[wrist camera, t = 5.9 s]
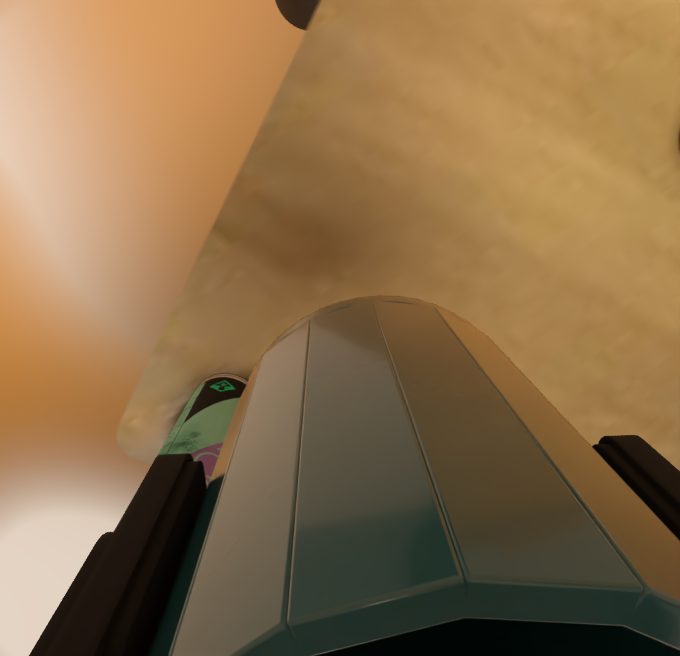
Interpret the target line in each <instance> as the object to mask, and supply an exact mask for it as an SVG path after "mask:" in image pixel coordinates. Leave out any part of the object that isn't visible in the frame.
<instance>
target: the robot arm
mask: <svg viewBox="0 0 680 656" xmlns="http://www.w3.org/2000/svg"><path fill="white" fill-rule="evenodd" d="M592 447H593V449H594V450H595V451H596V452H597V453H598V454H599V455H600V456H601V457H602V458H603V459H604V460H605V461H606V462H607V463H608V465H609V466H610V467H611V468H612V469H613V470H614V471H615V472H616V473H617V474H618V475H619V476H620V477H621V478H622V479H623V481H624V482H625V483H626V484H627V485H628V486H629V487H630V488H631V489H632V490H633V491H634V492H635V493H636V494H637V495H638V496H639V498H640V499H641V500H642V501H643V502H644V503H645V504H646V505H647V506H648V507H649V508H650V509H651V510H652V511H653V512H654V514H655V515H656V516H657V517H658V518H659V519H660V520H661V521H662V522H663V523H664V524H665V525H666V526H667V527H668V528H669V530H670V531H671V532H672V533H673V534H674V535H675V536H676V537H677V538H678V539H679V540H680V471H679V470H678V469H676V468H675V467H674V466H673V465H672V464H671V463H670V462H668V461H667V460H666V459H665V458H664V457H663V456H662V455H660V454H659V453H658V452H657V451H656V450H655V449H654V448H652V447H651V446H650V445H649V444H648V443H647V442H646V441H644V440H643V439H642V438H641V437H639V436H637V435H621V436H604V437H602V438H601V439H600V441H599V443H598V444H595V445H593V446H592ZM206 490H207V485H206V478H205V471H204V465H203V462H202V461H194V460H193V457H192V455H191V454H190V453H183V454H160V455H158V456H157V457H156V458H155V460H154V462H153V464H152V466H151V467H150V469H149V471H148V473H147V475H146V476H145V478H144V480H143V482H142V483H141V485H140V487H139V489H138V490H137V492H136V494H135V496H134V498H133V499H132V501H131V503H130V505H129V506H128V508H127V510H126V512H125V514H124V515H123V517H122V519H121V521H120V522H119V524H118V526H117V528H116V530H115V531H114V532H107V533H105V534H103V535H102V536H101V537H100V538H99V540H98V541H97V542H96V544H95V545H94V547H93V549H92V550H91V552H90V554H89V556H88V557H87V559H86V561H85V562H84V564H83V566H82V567H81V569H80V571H79V573H78V574H77V576H76V578H75V579H74V581H73V582H72V584H71V586H70V588H69V589H68V591H67V593H66V594H65V596H64V598H63V599H62V601H61V603H60V604H59V606H58V608H57V610H56V611H55V613H54V615H53V616H52V618H51V619H50V621H49V623H48V625H47V626H46V628H45V630H44V631H43V633H42V635H41V636H40V638H39V640H38V641H37V643H36V645H35V646H34V648H33V650H32V652H31V653H30V655H29V656H148V654H149V651H150V648H151V645H152V642H153V640H154V637H155V634H156V631H157V628H158V625H159V623H160V620H161V617H162V614H163V611H164V609H165V606H166V603H167V600H168V597H169V594H170V592H171V589H172V586H173V583H174V580H175V577H176V575H177V572H178V569H179V566H180V563H181V561H182V558H183V555H184V552H185V549H186V546H187V544H188V541H189V538H190V535H191V532H192V530H193V527H194V524H195V521H196V518H197V515H198V513H199V510H200V507H201V504H202V501H203V498H204V496H205V493H206Z"/></svg>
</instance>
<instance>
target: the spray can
mask: <svg viewBox="0 0 680 656" xmlns="http://www.w3.org/2000/svg"><path fill="white" fill-rule="evenodd" d="M247 382H248V381H246V380H245V379H243V378H241V377H239V376H236V375H232V374H218V375H213V376H211V377H208V378H207V379H205V380H204V381H203V382H202V383H201V384H199V386H198V387H197V388H196V390H195V391H194V393H193V395H192V396H191V398H190V400H189V402H188V403H187V405H186V407H185V409H184V410H183V412H182V414H181V416H180V417H179V419H178V421H177V423H176V424H175V426H174V428H173V429H172V431H171V433H170V435H169V436H168V438H167V440H166V442H165V443H164V445H163V447H162V449H161V450H160V452H159V454H158V455H160V454H183V453H190V454H191V455H192V457H193V460H194V461H202V462H203V465H204V471H205V478H206V485H207V487H208V484H209V482H210V479H211V476H212V473H213V470H214V467H215V465H216V462H217V459H218V456H219V453H220V450H221V448H222V445H223V442H224V439H225V436H226V434H227V431H228V428H229V425H230V422H231V419H232V417H233V414H234V411H235V408H236V405H237V403H238V401H239V399H240V397H241V395H242V393H243V392H244V390H245V387H246V384H247ZM133 498H134V497H133ZM129 505H130V504H129ZM125 512H126V511H125ZM124 514H125V513H124ZM121 519H122V518H121ZM120 521H121V520H120ZM118 524H119V523H118ZM117 526H118V525H117ZM116 528H117V527H116ZM116 528H115V530H116ZM115 530H114V531H115Z"/></svg>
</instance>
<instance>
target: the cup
mask: <svg viewBox="0 0 680 656" xmlns="http://www.w3.org/2000/svg"><path fill="white" fill-rule="evenodd" d="M148 656H680V540H679V539H678V538H677V537H676V536H675V535H674V534H673V533H672V532H671V531H670V530H669V528H668V527H667V526H666V525H665V524H664V523H663V522H662V521H661V520H660V519H659V518H658V517H657V516H656V515H655V514H654V512H653V511H652V510H651V509H650V508H649V507H648V506H647V505H646V504H645V503H644V502H643V501H642V500H641V499H640V498H639V496H638V495H637V494H636V493H635V492H634V491H633V490H632V489H631V488H630V487H629V486H628V485H627V484H626V483H625V482H624V481H623V479H622V478H621V477H620V476H619V475H618V474H617V473H616V472H615V471H614V470H613V469H612V468H611V467H610V466H609V465H608V463H607V462H606V461H605V460H604V459H603V458H602V457H601V456H600V455H599V454H598V453H597V452H596V451H595V450H594V449H593V447H592V446H591V445H590V444H589V443H588V442H587V441H586V440H585V439H584V438H583V437H582V436H581V435H580V434H579V433H578V431H577V430H576V429H575V428H574V427H573V426H572V425H571V424H570V423H569V422H568V421H567V420H566V419H565V418H564V417H563V415H562V414H561V413H560V412H559V411H558V410H557V409H556V408H555V407H554V406H553V405H552V404H551V403H550V402H549V401H548V399H547V398H546V397H545V396H544V395H543V394H542V393H541V392H540V391H539V390H538V389H537V388H536V387H535V386H534V385H533V383H532V382H531V381H530V380H529V379H528V378H527V377H526V376H525V375H524V374H523V373H522V372H521V371H520V370H519V369H518V367H517V366H516V365H515V364H514V363H513V362H512V361H511V360H510V359H509V358H508V357H507V356H506V355H505V354H504V353H503V352H502V350H501V349H500V348H499V347H498V346H497V345H496V344H495V343H494V342H493V341H492V340H491V339H490V338H489V337H488V336H487V335H486V334H485V333H484V332H482V331H480V330H478V329H477V328H476V327H474V326H473V325H472V324H471V323H470V322H468V321H467V320H465V319H463V318H462V317H460V316H459V315H457V314H455V313H454V312H452V311H449V310H447V309H445V308H443V307H441V306H438V305H436V304H432V303H429V302H426V301H422V300H419V299H413V298H407V297H401V296H369V297H359V298H355V299H350V300H346V301H341V302H338V303H335V304H333V305H330V306H327V307H324V308H322V309H319V310H317V311H316V312H314V313H312V314H310V315H308V316H306V317H304V318H302V319H301V320H300V321H298V322H297V323H295V324H294V325H292V326H291V327H289V328H288V329H287V330H286V331H285V332H284V333H282V334H281V335H280V336H279V337H278V338H277V339H276V340H275V341H274V342H273V343H272V344H271V345H270V346H269V348H268V349H267V350H266V351H265V352H264V354H263V355H262V356H261V358H260V359H259V361H258V363H257V364H256V366H255V368H254V369H253V371H252V373H251V375H250V378H249V380H248V382H247V384H246V387H245V390H244V392H243V393H242V395H241V397H240V399H239V401H238V403H237V405H236V408H235V411H234V414H233V417H232V419H231V422H230V425H229V428H228V431H227V434H226V436H225V439H224V442H223V445H222V448H221V450H220V453H219V456H218V459H217V462H216V465H215V467H214V470H213V473H212V476H211V479H210V482H209V484H208V487H207V490H206V493H205V496H204V498H203V501H202V504H201V507H200V510H199V513H198V515H197V518H196V521H195V524H194V527H193V530H192V532H191V535H190V538H189V541H188V544H187V546H186V549H185V552H184V555H183V558H182V561H181V563H180V566H179V569H178V572H177V575H176V577H175V580H174V583H173V586H172V589H171V592H170V594H169V597H168V600H167V603H166V606H165V609H164V611H163V614H162V617H161V620H160V623H159V625H158V628H157V631H156V634H155V637H154V640H153V642H152V645H151V648H150V651H149V654H148Z"/></svg>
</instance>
